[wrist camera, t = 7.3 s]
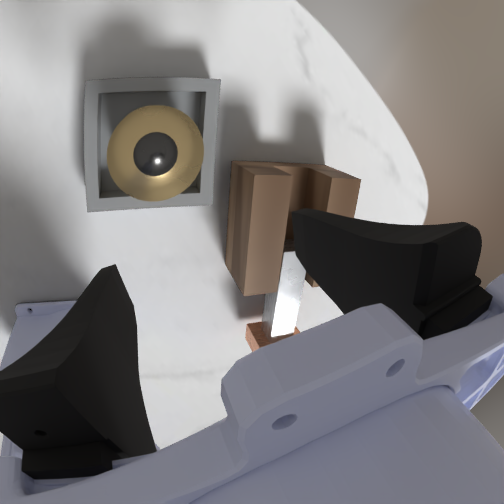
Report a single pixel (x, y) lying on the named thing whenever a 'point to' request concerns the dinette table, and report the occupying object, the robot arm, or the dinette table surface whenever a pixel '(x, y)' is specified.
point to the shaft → (280, 303)
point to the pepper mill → (155, 153)
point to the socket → (125, 101)
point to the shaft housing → (276, 215)
